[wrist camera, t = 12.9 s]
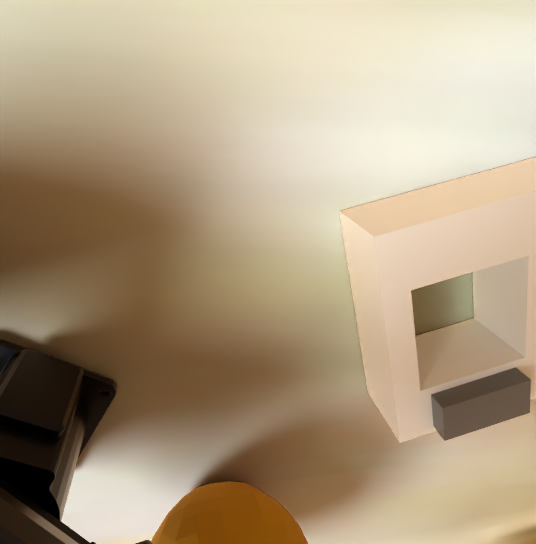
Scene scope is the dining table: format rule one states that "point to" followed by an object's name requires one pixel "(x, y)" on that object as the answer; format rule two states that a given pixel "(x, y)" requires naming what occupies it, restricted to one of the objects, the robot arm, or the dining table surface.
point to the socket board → (435, 268)
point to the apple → (228, 518)
